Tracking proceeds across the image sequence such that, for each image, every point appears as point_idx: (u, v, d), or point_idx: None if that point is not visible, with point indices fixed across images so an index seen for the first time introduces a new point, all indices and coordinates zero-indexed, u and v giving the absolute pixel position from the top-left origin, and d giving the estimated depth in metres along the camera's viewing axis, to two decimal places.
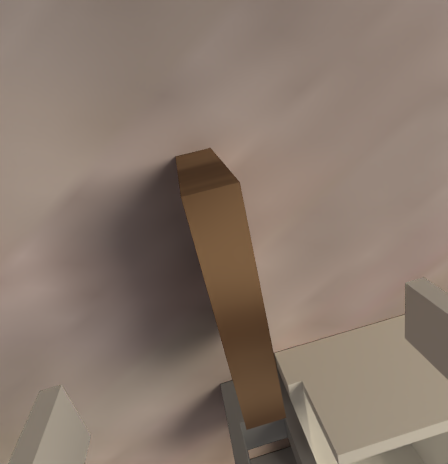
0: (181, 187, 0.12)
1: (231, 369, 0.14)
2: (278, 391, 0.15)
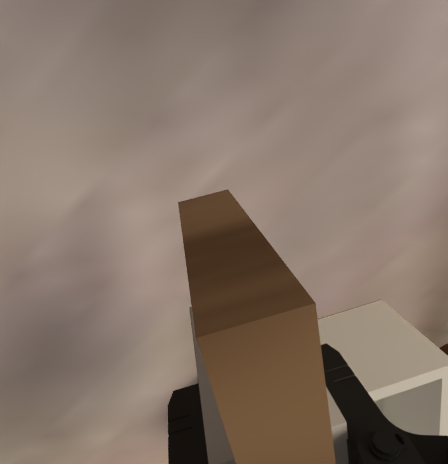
0: (193, 297, 0.06)
1: None
2: None
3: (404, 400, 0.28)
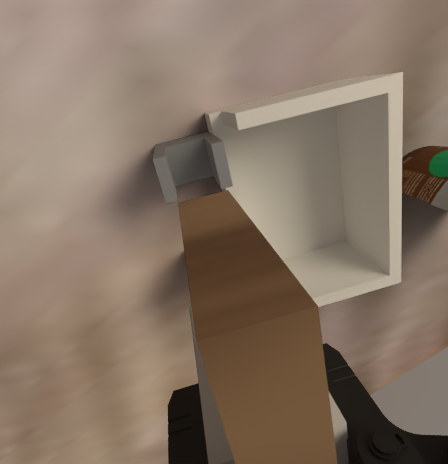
0: (194, 299, 0.06)
1: None
2: None
3: (359, 178, 0.27)
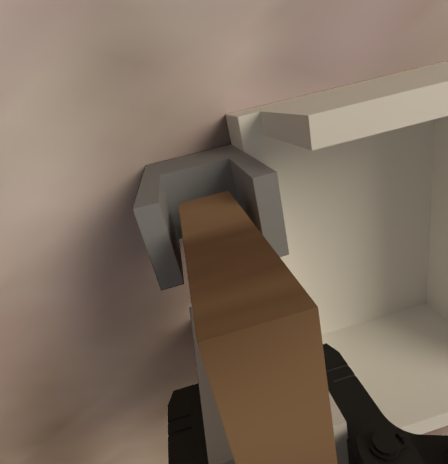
0: (194, 300, 0.06)
1: None
2: None
3: None
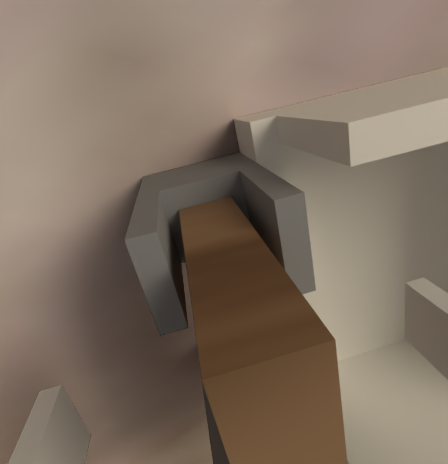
0: (198, 326, 0.06)
1: None
2: None
3: None
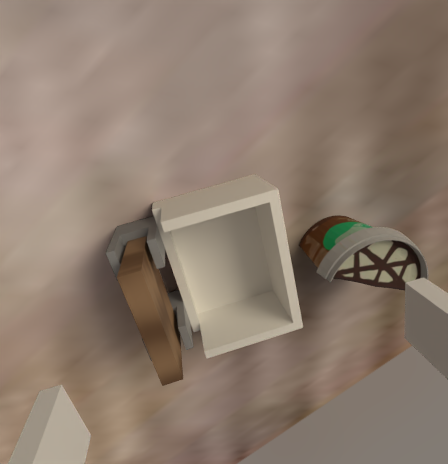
0: (119, 270, 0.27)
1: (149, 352, 0.29)
2: (176, 364, 0.30)
3: (270, 249, 0.35)
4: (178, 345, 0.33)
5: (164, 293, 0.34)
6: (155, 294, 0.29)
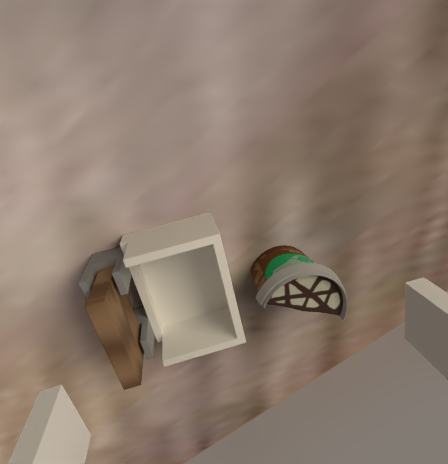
0: (87, 300, 0.34)
1: (112, 364, 0.36)
2: (134, 373, 0.37)
3: (220, 276, 0.42)
4: (140, 355, 0.40)
5: (130, 312, 0.41)
6: (118, 317, 0.36)
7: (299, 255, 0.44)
